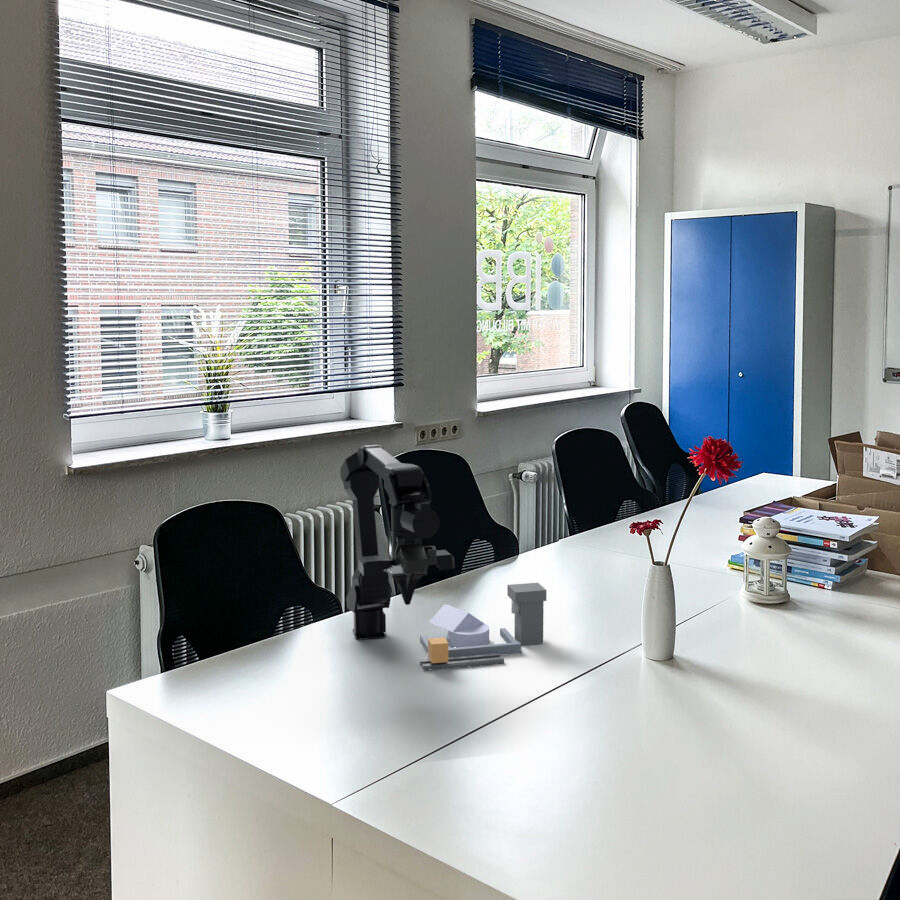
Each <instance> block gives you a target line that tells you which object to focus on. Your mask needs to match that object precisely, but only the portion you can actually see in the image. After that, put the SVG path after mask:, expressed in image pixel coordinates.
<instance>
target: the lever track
mask: <svg viewBox="0 0 900 900" xmlns="http://www.w3.org/2000/svg"><path fill="white" fill-rule="evenodd" d="M503 664H505V658H504V657H503V656H502V655H501V654H500V653H493V654H482V655H470V656H459V657H448V662H442V663H431V662H430V660H429V658H427V659H425V658H424V659H419V666H420V665H421V666H422V667H421V666H420V667H421V670H422V669H423V670H427V671H430V670H429V669H438V670H444V669H443V668H449V669H456V668H455V667H460V668H469V667H468V666H471V667H479V666H480V665H482V666H493V665H503ZM423 670H422V671H423Z"/></svg>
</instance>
